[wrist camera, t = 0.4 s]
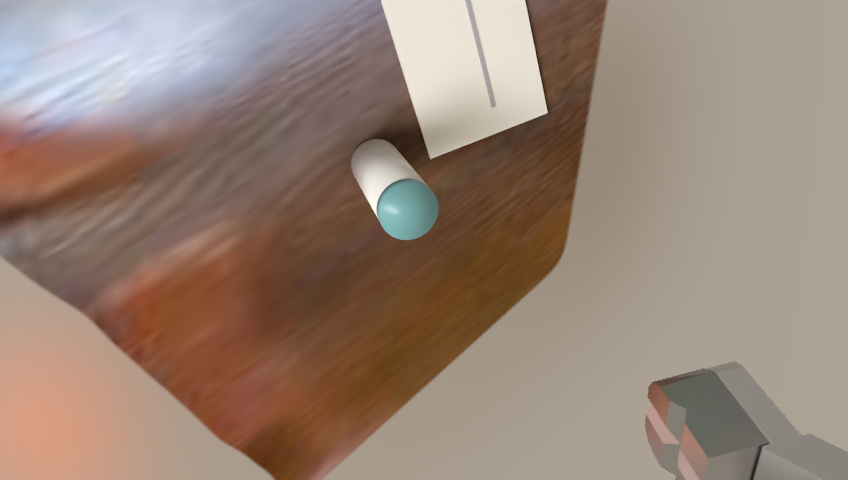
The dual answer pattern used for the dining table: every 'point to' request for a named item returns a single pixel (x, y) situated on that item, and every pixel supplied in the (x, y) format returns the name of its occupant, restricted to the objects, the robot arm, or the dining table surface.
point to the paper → (466, 67)
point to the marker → (394, 190)
